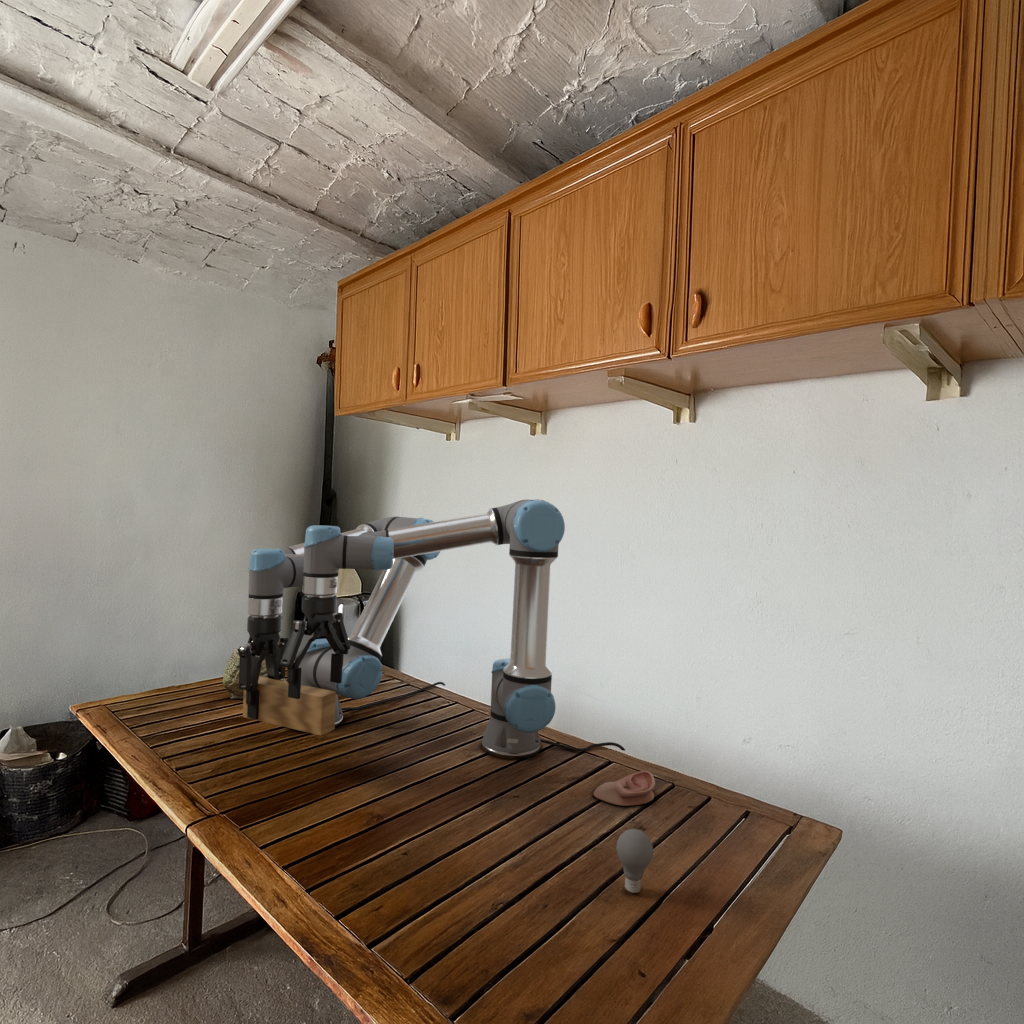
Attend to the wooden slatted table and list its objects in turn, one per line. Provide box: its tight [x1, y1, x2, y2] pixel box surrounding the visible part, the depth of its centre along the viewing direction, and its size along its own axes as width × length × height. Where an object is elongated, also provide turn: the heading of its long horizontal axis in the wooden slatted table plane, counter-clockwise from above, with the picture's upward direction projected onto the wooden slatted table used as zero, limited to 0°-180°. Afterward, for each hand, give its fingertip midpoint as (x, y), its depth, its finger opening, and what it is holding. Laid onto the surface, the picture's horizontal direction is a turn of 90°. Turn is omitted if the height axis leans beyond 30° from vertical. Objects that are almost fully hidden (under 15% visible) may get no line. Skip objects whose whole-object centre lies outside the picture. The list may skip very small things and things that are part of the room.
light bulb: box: [615, 828, 654, 894], centre depth 106 cm, size 6×6×10 cm
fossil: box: [222, 647, 287, 699], centre depth 198 cm, size 9×18×15 cm, turn 132°
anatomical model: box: [593, 770, 656, 807], centre depth 141 cm, size 13×4×12 cm
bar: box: [242, 676, 336, 736], centre depth 145 cm, size 23×4×8 cm, turn 66°
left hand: (261, 714), depth 148 cm, fingers closed on bar, 5 cm apart
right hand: (315, 689), depth 141 cm, fingers open, 13 cm apart
